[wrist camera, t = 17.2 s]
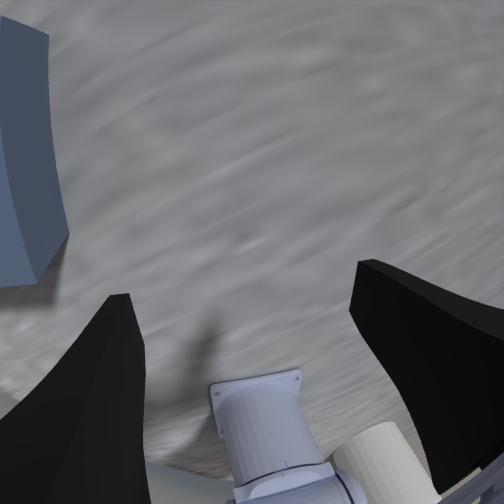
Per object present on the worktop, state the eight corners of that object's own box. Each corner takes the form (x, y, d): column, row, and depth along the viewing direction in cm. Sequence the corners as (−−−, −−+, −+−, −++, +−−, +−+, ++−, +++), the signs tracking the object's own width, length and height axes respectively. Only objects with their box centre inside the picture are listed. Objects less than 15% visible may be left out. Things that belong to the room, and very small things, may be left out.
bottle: (333, 466, 43) (383, 576, 21) (328, 446, 37) (392, 584, 15) (393, 437, 43) (451, 539, 22) (400, 410, 37) (476, 535, 16)
